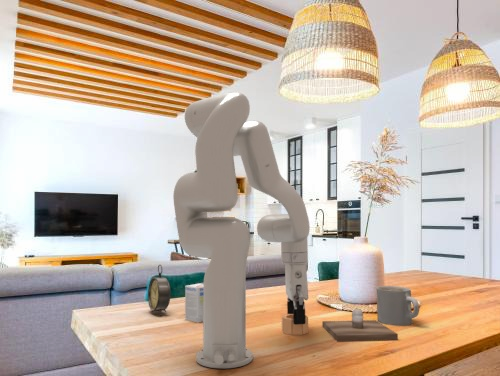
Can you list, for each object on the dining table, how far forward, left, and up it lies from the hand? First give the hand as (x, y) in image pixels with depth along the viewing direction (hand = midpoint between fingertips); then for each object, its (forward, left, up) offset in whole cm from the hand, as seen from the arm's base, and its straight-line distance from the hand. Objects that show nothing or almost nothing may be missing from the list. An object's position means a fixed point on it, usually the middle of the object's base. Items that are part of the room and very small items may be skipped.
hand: (296, 319), depth 116 cm
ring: (-1, 0, -3) cm, 3 cm away
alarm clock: (+25, +41, -3) cm, 49 cm away
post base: (-4, -16, -3) cm, 17 cm away
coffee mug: (+6, -33, -3) cm, 33 cm away
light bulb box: (+17, +27, -3) cm, 32 cm away
